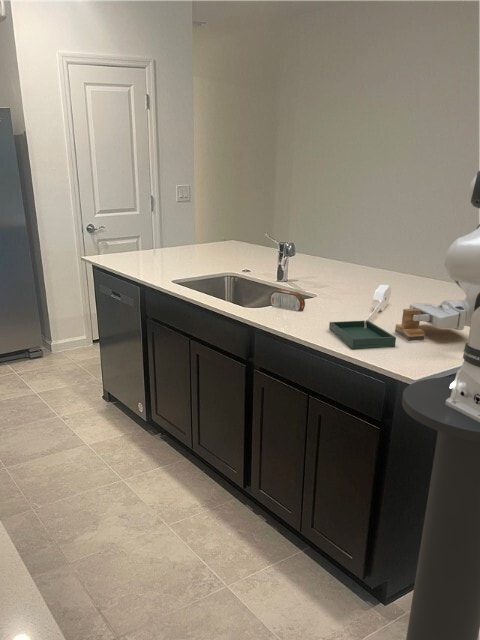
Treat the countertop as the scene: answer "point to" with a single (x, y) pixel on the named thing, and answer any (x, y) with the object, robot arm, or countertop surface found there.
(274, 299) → the tin
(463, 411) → the robot arm
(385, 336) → the tray
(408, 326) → the wooden inverted t block
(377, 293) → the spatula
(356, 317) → the countertop surface
